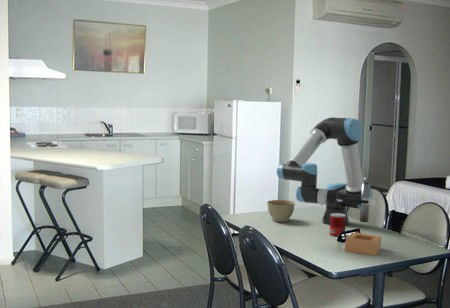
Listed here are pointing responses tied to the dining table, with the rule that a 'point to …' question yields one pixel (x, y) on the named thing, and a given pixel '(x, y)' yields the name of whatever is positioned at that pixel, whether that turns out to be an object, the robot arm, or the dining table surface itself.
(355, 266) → the dining table surface
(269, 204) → the planter bowl
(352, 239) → the hollowed wooden tray
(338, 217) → the canned food
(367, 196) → the slim metal bottle
